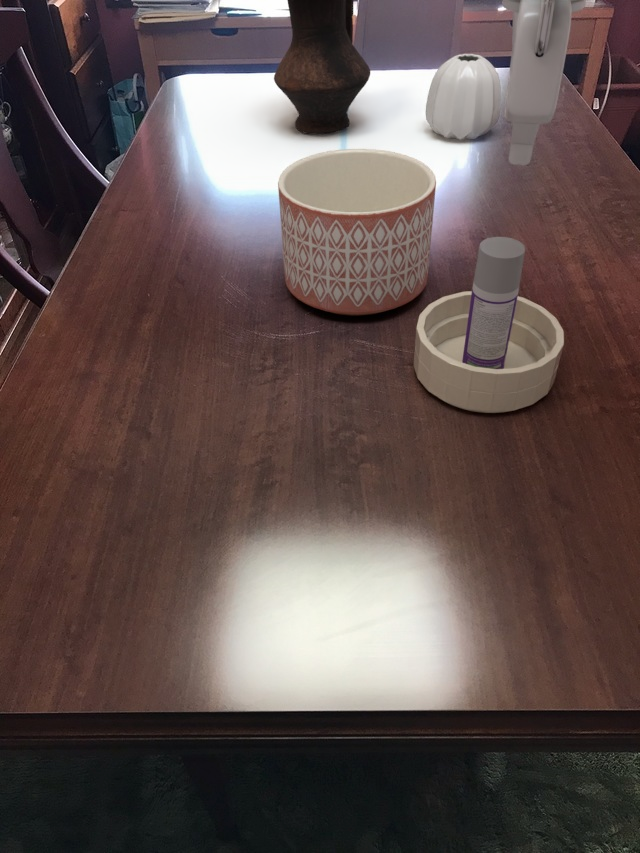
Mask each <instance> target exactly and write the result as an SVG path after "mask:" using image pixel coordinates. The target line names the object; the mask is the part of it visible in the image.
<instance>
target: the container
mask: <svg viewBox="0 0 640 853" xmlns="http://www.w3.org/2000/svg"><path fill="white" fill-rule="evenodd" d="M525 252H526V247H525V245H524V243H523V242H521V241H519V240H517V239H515V238H513V237H507V236H492V237H487V238H485V239H484V240H482V241H481V242H480V243H479V246H478V253H477V258H476V265H475V269H474V270H475V271H474V276H473V282H472V288H471V291H472V294H471V302H470V309H469V316H468V323H467V331H466V338H465V345H464V352H463V360H462V363H465V364H468V365H471V366H475V367H482V368H490V369H504V364H505V359H506V354H507V349H508V344H509V338H510V333H511V328H512V323H513V318H514V313H515V307H516V302H517V297H518V296H519V291H520V284H521V278H522V273H523V266H524V259H525V255H526V254H525Z"/></svg>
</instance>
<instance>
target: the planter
mask: <svg viewBox="0 0 640 853" xmlns="http://www.w3.org/2000/svg"><path fill="white" fill-rule="evenodd" d="M277 188H278V189H277V190H278V201H279V203H278V204H279V214H280V215H279V216H280V229H281V243H282V258H283V272H284V273H283V274H284V282H285V285H286V288H287V290H288V291H289V292H290V293H291V294H292V296H294V297H295V298H296V299H297V300H298V301H300V302H302V303H304V304H305V305H307V306H309V307H312V308H314V309H318V310H321V311H324V312H329V313H331V314H336V315H342V316H355V317H357V316H371V315H375V314H379V313H383V312H387V311H390V310H394V309H397V308H398V307H403V306H404V305H406V304H408V303H409V302H412V301H413V300H414V299H415V298H417V297H419V295H420V294H421V293H422V292H423V291H424V289H425V287H426V285H427V284H428V278H429V270H430V269H429V267H430V258H431V257H430V256H431V244H432V232H433V224H434V211H435V200H436V199H435V198H436V188H437V179H436V175H435V173H434V171H433V169H431V168H430V167H429V166H428V165H427V164H425V163H424V162H422V161H420V160H418V159H417V158H415V157H412V156H409V155H407V154H403V153H400V152H395V151H390V150H382V149H376V148H345V149H335V150H334V149H333V150H328V151H323V152H319V153H315V154H312V155H309V156H305V157H302V158H299V159H298V160H296V161H294V162H293V163H291V164H289V165H288V166H287V167H286V168H284V170H282V172H281V173H280V175H279V177H278V181H277Z"/></svg>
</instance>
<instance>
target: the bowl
mask: <svg viewBox="0 0 640 853" xmlns="http://www.w3.org/2000/svg"><path fill="white" fill-rule="evenodd" d="M471 294H472V290H471V291H461V292H460V291H459V292H456V293H453V294H448V295H445V296H442V297H440V298H438V299H437V300H436V299H435V300H434V301H433V302H431V303H429V304H428V305H427V306H426V307H425V308H424V309H423V311H422V312H420V314H419V316H418V319H417V324H416V328H415V342H414V353H413V354H414V355H413V367H414V372H415V375H416V378H417V379H418V381H420V383H421V384H422V385H423V387H424V388H425V389H426V391H427V392H429V393H431V394H432V395H433V396H435V397H436V398H438V399H439V400H441V401H443V402H444V403H447V404H449V405H450V406H453V407H455V408H459V409H462V410H466V411H468V412H475V413H483V414H496V413H497V414H500V413H501V414H502V413H508V412H512V411H517V410H519V409H524V408H526V407H529V406H532V405H534V404H535V403H537V402H538V401H539V400H541V399H542V398H544V397H545V396H547V395H548V393H549V392H550V390H551V388H552V387H553V385H554V383H555V380H556V377H557V373H558V368H559V365H560V361H561V357H562V353H563V350H564V346H565V331H564V329H563V327H562V326H561V324H560V322H559V320H558V319H557V317H555V315H553V314H552V313H551V312H550V311H548V310H547V309H546V308H545V307H543V306H542V305H539V304H537V303H535V302H533V301H531V300H530V299H527V298H525V297H522V296H519V295H518V297H517V302H516V307H515V313H514V318H513V323H512V328H511V333H510V338H509V344H508V349H507V354H506V359H505V364H504V369H490V368H482V367H475V366H471V365H468V364H465V363H462V360H463V352H464V345H465V338H466V331H467V323H468V316H469V309H470V302H471Z"/></svg>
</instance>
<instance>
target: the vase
mask: <svg viewBox="0 0 640 853" xmlns="http://www.w3.org/2000/svg"><path fill="white" fill-rule="evenodd" d="M501 109H502V87H501V79H500V75H499V73H498V71H497V69H496V68H495V66H494V65H493V64H492V63H491V62H490V61H489V60H488V59H487V58H486V57H484V56H482V55H480V54H474V53H462V54H456V55H454V56H452V57H451V58H449V59H447V60H446V61H445V62H443V63H442V64H441V65H440V66H439V67H438V68H437V70H436V71H435V73H434V76H433V78H432V80H431V83H430V86H429V90H428V93H427V98H426V103H425V120H426V122H427V124H429V126H430V128H431V129H432V130H433V131H434V133H435V134H437V135H441V136H443V137H444V138H446V139H457V140H459V141H461V140H465V139H469V140H475V139H477V138H478V137H480V136H485V135H487V133H489V131H490V130H491V129H492V128H493V127H494V126H495V125H496V124H497V123H498V121H499V118H500V115H501Z"/></svg>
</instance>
